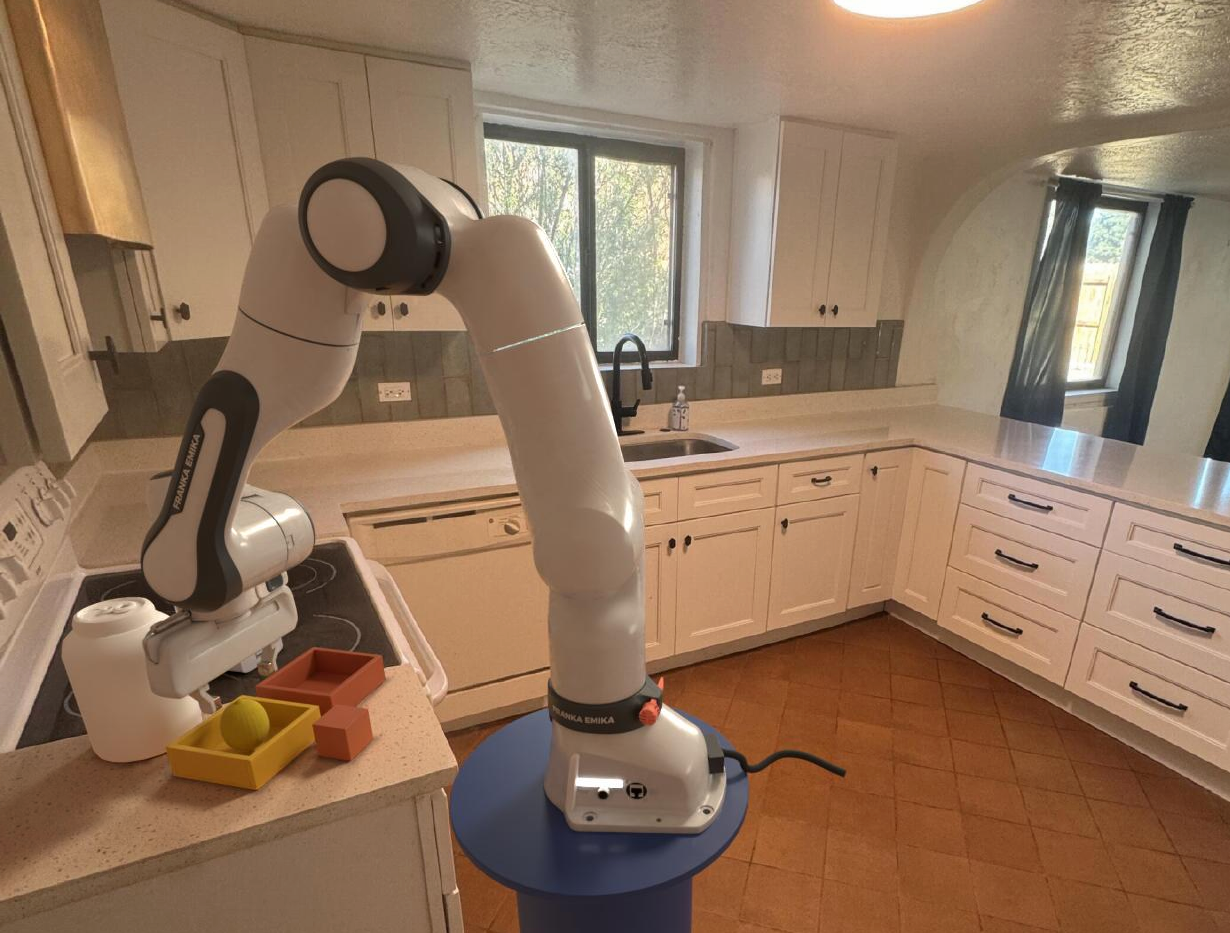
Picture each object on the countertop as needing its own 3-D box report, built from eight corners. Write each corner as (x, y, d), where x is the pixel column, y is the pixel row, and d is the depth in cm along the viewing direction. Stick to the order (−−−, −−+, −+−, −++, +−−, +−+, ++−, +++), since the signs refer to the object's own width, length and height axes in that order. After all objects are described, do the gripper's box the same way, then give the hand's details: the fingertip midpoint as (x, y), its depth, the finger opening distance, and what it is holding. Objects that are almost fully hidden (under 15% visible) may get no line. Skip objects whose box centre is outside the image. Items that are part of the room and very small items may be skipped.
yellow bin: (324, 732, 98) (318, 705, 97) (257, 790, 87) (249, 760, 85) (248, 721, 101) (241, 694, 99) (173, 776, 89) (164, 746, 88)
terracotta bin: (386, 679, 112) (382, 655, 110) (335, 723, 100) (330, 696, 99) (317, 671, 114) (313, 646, 113) (260, 712, 103) (254, 686, 101)
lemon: (256, 734, 97) (244, 684, 94) (283, 745, 95) (272, 694, 92) (218, 756, 92) (204, 704, 89) (245, 768, 90) (231, 715, 87)
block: (373, 739, 97) (368, 708, 95) (351, 761, 92) (345, 729, 90) (342, 734, 98) (336, 704, 96) (318, 756, 93) (311, 724, 91)
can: (208, 704, 105) (175, 582, 98) (199, 749, 94) (162, 616, 87) (106, 725, 100) (63, 598, 92) (85, 776, 89) (35, 636, 82)
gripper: (162, 633, 75) (195, 740, 80) (295, 566, 94) (315, 656, 99) (116, 628, 77) (150, 734, 82) (256, 563, 95) (277, 652, 100)
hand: (242, 691), depth 90 cm, fingers open, 8 cm apart
